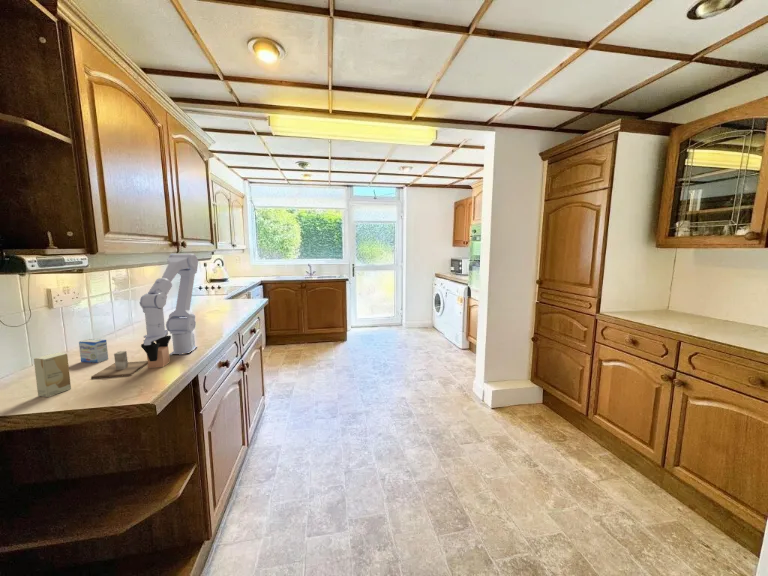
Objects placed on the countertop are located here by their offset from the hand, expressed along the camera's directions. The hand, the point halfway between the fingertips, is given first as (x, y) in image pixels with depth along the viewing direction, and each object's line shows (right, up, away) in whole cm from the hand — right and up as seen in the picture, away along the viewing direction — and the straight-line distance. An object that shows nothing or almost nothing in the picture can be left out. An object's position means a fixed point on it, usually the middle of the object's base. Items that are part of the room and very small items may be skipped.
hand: (158, 357), depth 120 cm
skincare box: (-16, -6, -22) cm, 28 cm away
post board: (-10, -4, -5) cm, 12 cm away
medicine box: (-30, -3, +5) cm, 30 cm away
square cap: (0, -3, +1) cm, 3 cm away
